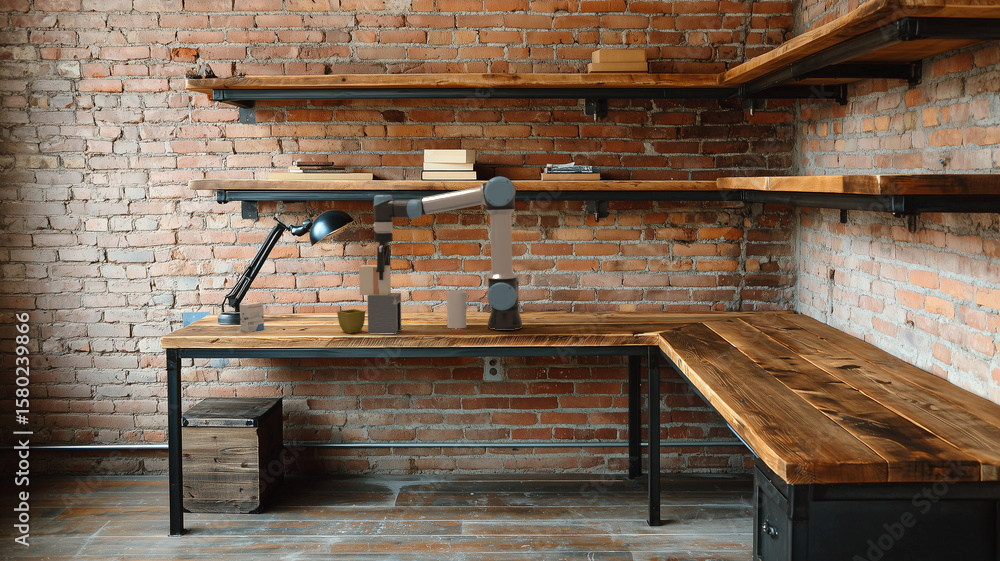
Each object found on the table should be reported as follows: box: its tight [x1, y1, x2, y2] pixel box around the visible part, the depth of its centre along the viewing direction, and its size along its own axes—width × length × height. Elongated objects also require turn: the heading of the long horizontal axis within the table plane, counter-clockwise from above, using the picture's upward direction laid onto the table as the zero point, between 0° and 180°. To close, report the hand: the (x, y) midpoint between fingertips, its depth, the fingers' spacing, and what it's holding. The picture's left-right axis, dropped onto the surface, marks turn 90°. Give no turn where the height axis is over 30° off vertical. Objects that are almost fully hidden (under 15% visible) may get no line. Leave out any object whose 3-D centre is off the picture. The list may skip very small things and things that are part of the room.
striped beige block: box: [358, 264, 392, 296], centre depth 307 cm, size 12×5×12 cm, turn 87°
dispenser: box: [367, 292, 402, 335], centre depth 309 cm, size 12×10×16 cm
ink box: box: [239, 301, 265, 333], centre depth 312 cm, size 9×5×12 cm, turn 141°
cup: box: [446, 289, 467, 330], centre depth 319 cm, size 8×8×16 cm
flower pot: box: [336, 308, 366, 334], centre depth 309 cm, size 9×9×9 cm
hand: (384, 286), depth 307 cm, fingers open, 9 cm apart
